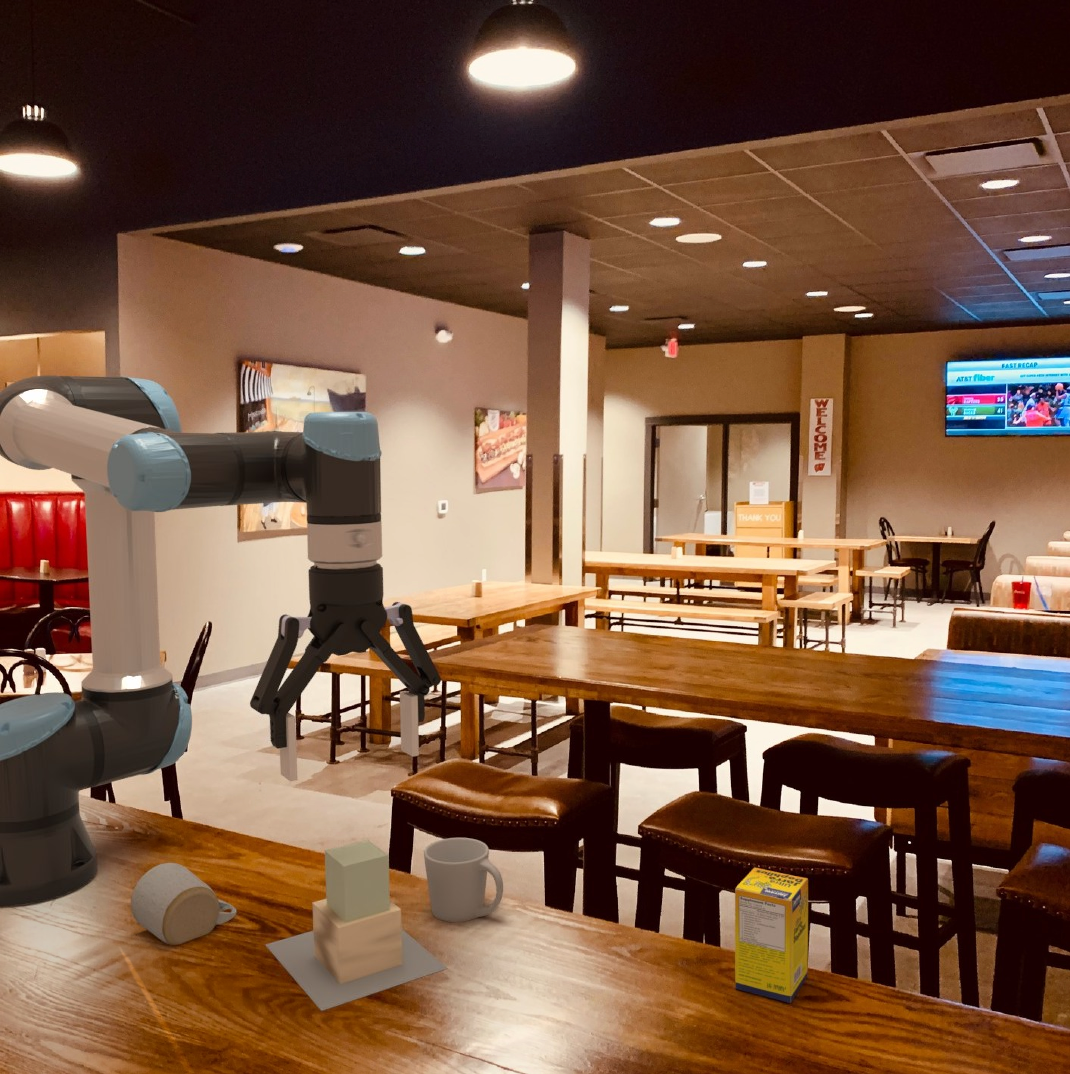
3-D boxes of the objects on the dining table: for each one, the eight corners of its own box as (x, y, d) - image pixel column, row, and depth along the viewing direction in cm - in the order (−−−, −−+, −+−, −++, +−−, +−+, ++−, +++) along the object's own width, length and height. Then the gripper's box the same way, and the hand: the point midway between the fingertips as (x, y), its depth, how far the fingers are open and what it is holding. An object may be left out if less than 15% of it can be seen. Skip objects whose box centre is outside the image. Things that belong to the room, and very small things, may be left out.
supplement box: (808, 978, 109) (809, 877, 108) (791, 1005, 104) (792, 900, 103) (753, 963, 112) (753, 865, 111) (733, 989, 107) (734, 887, 106)
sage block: (326, 904, 111) (324, 850, 110) (369, 892, 114) (368, 839, 113) (345, 923, 107) (343, 866, 106) (390, 910, 110) (388, 855, 109)
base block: (314, 956, 112) (312, 902, 112) (374, 937, 116) (372, 886, 115) (340, 984, 106) (338, 927, 106) (402, 964, 110) (401, 909, 110)
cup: (450, 899, 128) (448, 832, 127) (519, 918, 123) (518, 848, 122) (412, 925, 121) (410, 855, 121) (483, 946, 116) (482, 872, 115)
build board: (265, 955, 115) (265, 944, 115) (381, 920, 123) (381, 910, 123) (321, 1022, 102) (321, 1010, 102) (447, 979, 109) (447, 968, 109)
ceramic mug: (164, 961, 114) (162, 893, 113) (130, 937, 119) (128, 872, 119) (251, 929, 121) (249, 865, 121) (215, 907, 127) (213, 846, 126)
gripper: (236, 578, 97) (245, 799, 99) (469, 557, 111) (472, 752, 113) (212, 569, 103) (221, 777, 105) (435, 550, 117) (439, 735, 119)
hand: (351, 765), depth 109 cm, fingers open, 13 cm apart
